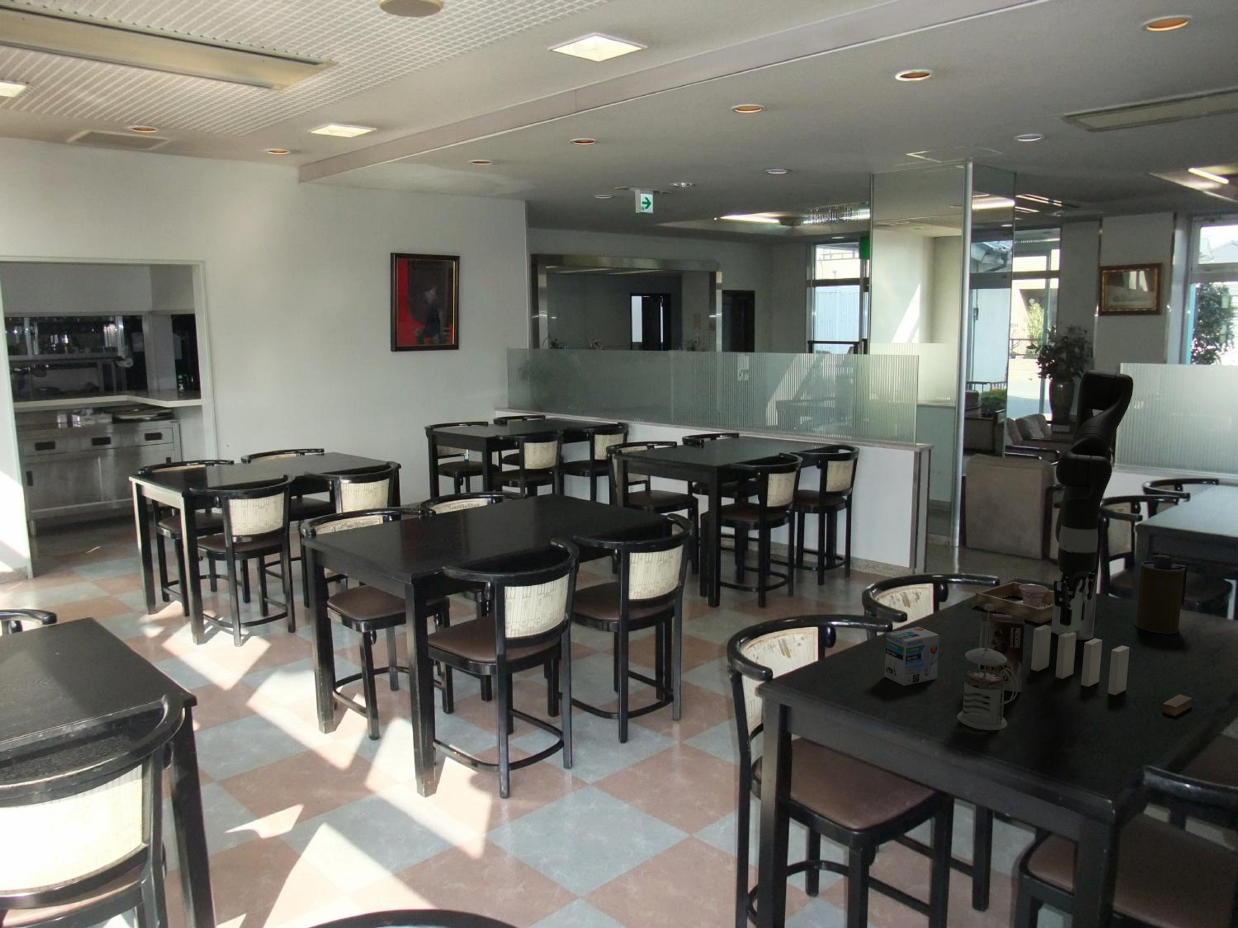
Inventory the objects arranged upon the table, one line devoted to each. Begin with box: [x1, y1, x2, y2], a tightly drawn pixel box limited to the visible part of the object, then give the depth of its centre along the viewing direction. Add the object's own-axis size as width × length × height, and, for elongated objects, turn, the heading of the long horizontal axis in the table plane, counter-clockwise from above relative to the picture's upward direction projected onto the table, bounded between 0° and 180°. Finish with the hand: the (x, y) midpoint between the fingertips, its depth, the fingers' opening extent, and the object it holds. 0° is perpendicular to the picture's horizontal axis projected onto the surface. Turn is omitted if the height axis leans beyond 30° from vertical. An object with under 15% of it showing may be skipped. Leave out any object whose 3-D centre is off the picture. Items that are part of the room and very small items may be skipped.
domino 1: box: [1030, 624, 1052, 672], centre depth 222 cm, size 2×5×10 cm, turn 127°
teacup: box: [1014, 583, 1049, 608], centre depth 269 cm, size 12×12×6 cm
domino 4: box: [1107, 645, 1130, 696], centre depth 208 cm, size 2×5×10 cm, turn 127°
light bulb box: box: [884, 626, 940, 686], centre depth 216 cm, size 11×7×11 cm, turn 117°
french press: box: [956, 604, 1019, 731], centre depth 191 cm, size 10×12×25 cm
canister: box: [1134, 554, 1188, 635], centre depth 250 cm, size 11×10×20 cm
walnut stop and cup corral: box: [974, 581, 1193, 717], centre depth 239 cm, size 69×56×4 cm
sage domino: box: [1062, 590, 1083, 634], centre depth 202 cm, size 2×5×10 cm, turn 127°
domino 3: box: [1080, 638, 1103, 687], centre depth 212 cm, size 2×5×10 cm, turn 128°
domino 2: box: [1055, 632, 1077, 680], centre depth 217 cm, size 2×5×10 cm, turn 127°
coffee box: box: [977, 611, 1026, 693], centre depth 211 cm, size 9×6×16 cm
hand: (1071, 621), depth 203 cm, fingers closed on sage domino, 5 cm apart
